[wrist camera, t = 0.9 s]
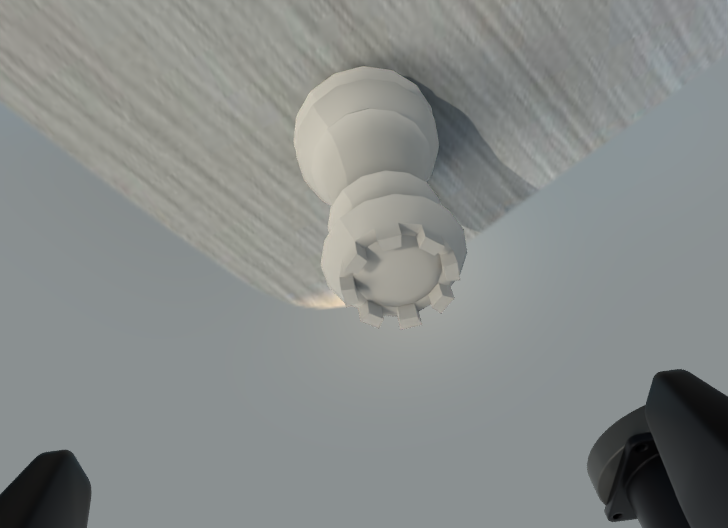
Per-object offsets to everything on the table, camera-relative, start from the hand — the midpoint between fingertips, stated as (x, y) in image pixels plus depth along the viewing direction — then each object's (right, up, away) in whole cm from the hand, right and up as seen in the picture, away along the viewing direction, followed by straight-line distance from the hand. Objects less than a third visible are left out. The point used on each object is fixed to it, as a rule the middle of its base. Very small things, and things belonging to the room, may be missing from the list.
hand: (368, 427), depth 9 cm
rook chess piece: (0, +7, +10) cm, 12 cm away
